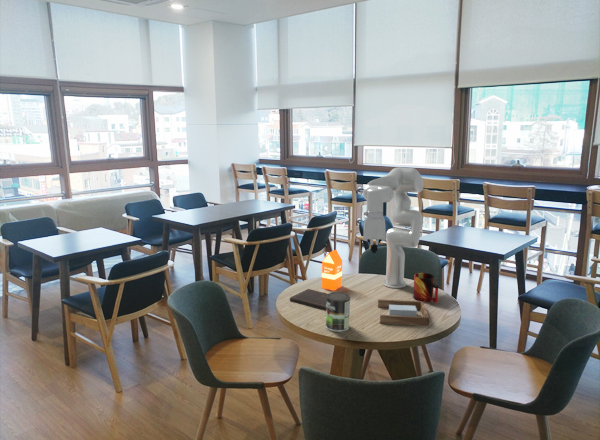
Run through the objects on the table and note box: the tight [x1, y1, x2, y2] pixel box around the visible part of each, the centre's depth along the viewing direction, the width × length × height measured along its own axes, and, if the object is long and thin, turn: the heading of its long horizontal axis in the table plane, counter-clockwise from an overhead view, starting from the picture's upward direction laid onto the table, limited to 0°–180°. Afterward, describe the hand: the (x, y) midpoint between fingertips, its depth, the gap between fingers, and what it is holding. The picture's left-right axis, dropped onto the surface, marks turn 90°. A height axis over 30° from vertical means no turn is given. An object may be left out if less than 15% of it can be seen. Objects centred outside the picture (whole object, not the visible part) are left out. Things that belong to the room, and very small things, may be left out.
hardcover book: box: [289, 288, 328, 312], centre depth 233 cm, size 16×23×2 cm
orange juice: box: [321, 249, 343, 291], centre depth 252 cm, size 8×9×20 cm
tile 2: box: [402, 305, 418, 317], centre depth 215 cm, size 6×6×4 cm
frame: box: [377, 299, 430, 327], centre depth 215 cm, size 20×21×4 cm
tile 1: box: [388, 305, 403, 316], centre depth 216 cm, size 6×6×4 cm
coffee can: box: [325, 291, 351, 333], centre depth 202 cm, size 10×10×14 cm
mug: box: [412, 272, 439, 304], centre depth 235 cm, size 10×14×12 cm
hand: (374, 252), depth 223 cm, fingers closed
